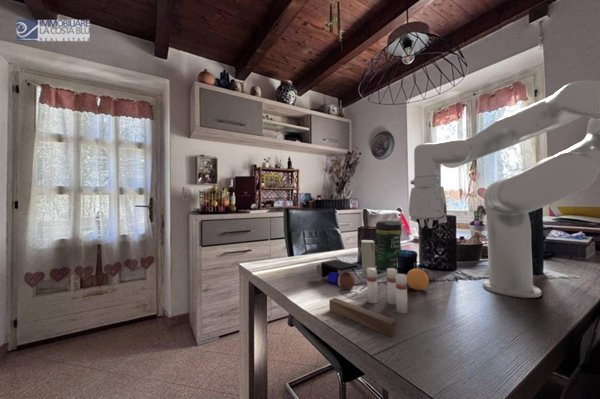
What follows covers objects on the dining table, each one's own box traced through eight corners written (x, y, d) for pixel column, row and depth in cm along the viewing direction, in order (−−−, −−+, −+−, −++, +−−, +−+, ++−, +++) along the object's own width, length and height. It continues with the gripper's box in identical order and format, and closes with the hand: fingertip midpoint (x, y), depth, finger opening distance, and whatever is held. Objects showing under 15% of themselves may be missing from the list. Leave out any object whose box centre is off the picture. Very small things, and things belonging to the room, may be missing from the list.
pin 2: (399, 308, 59) (398, 273, 59) (409, 311, 57) (408, 275, 58) (394, 311, 58) (393, 275, 58) (404, 314, 56) (403, 277, 56)
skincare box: (376, 278, 83) (375, 242, 83) (362, 278, 84) (361, 242, 84) (374, 273, 89) (373, 239, 90) (362, 272, 90) (361, 239, 91)
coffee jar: (386, 272, 90) (385, 221, 91) (373, 267, 98) (371, 220, 98) (407, 269, 94) (405, 220, 94) (392, 264, 101) (390, 219, 102)
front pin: (390, 300, 64) (389, 267, 64) (399, 302, 62) (398, 269, 63) (386, 302, 63) (385, 269, 63) (394, 305, 61) (393, 271, 61)
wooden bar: (335, 307, 60) (334, 297, 60) (396, 333, 48) (396, 320, 48) (329, 310, 59) (329, 300, 59) (391, 336, 47) (390, 323, 47)
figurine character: (315, 284, 83) (342, 292, 70) (314, 261, 84) (340, 265, 71) (332, 281, 86) (361, 288, 73) (330, 258, 87) (358, 262, 74)
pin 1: (371, 299, 65) (370, 267, 66) (379, 301, 64) (378, 268, 64) (365, 301, 64) (365, 268, 64) (373, 304, 62) (372, 270, 62)
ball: (412, 284, 76) (411, 265, 76) (432, 289, 71) (432, 269, 71) (402, 289, 72) (402, 269, 72) (423, 294, 67) (423, 273, 68)
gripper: (399, 183, 82) (399, 238, 82) (448, 180, 70) (449, 244, 70) (409, 184, 87) (410, 236, 86) (457, 181, 75) (458, 241, 75)
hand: (428, 240), depth 78 cm, fingers closed
